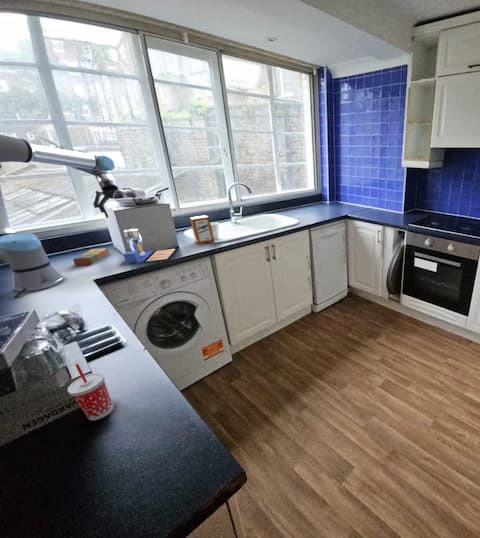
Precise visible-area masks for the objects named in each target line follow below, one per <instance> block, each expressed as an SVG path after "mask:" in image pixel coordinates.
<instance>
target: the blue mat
mask: <svg viewBox="0 0 480 538" xmlns="http://www.w3.org/2000/svg"><path fill="white" fill-rule="evenodd" d="M144 252H145V253H146V255H145V256H143V257H140V258H141V259H140V260H139V261H138V262H137V263H143V262H144V261H145V260H147V258H149V257H150V255H152V254H153V253H155V252H154V250H151V251H144ZM134 263H135V264H136V262H134ZM126 264H127V263H126V261H125V260H124V261H123V262H122V263H121V265H126Z"/></svg>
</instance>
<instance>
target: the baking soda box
mask: <svg viewBox="0 0 480 538" xmlns="http://www.w3.org/2000/svg"><path fill="white" fill-rule="evenodd" d="M189 221H190V225H191V229H192V233H193V237H194V241H195V243H196V244H198V245H201V244H205V243H209V242H215V238H214V234H213V230H212V225H211V221H210V216H208V215H197V216H192V217H189Z"/></svg>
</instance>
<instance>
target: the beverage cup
mask: <svg viewBox="0 0 480 538" xmlns="http://www.w3.org/2000/svg"><path fill="white" fill-rule="evenodd" d="M74 365H75V368H76V369H77V372H78V373H79V376H80V377H79V378H78V379H76V380H74V381H73V382H71V384H69V386H68V387H67V393H68V394H69V395H70V396H71V397H73V399H74V400H75V401H76V403H77V404H78V405H79V407H80V409H81V410H82V412H83V413H84V414H85V416H86V417H87V419H88V420H90V421H98V420H100V419H103V418H105V417H106V416H108V415H109V414H110V413H111V412H112V411H113V410H114V404H113V401H112V398H111V396H110V393H109V390H108V387H107V385H106V382H105V379H106V378H105V375H104V373H102V372H92V373H88V374H84V372H83V371H82V369H81V367H80V365H79V363H76V364H74Z"/></svg>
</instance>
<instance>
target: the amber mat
mask: <svg viewBox="0 0 480 538" xmlns="http://www.w3.org/2000/svg"><path fill="white" fill-rule="evenodd" d="M175 251H176V248H169V249H157V250H156V251H155V252H153V253H152V254H151V256H149V257H148V259H146V262H152V261H162V260H167V259H168V258H169V257H170V256H171V255H172V254H173V253H174V252H175Z"/></svg>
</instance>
